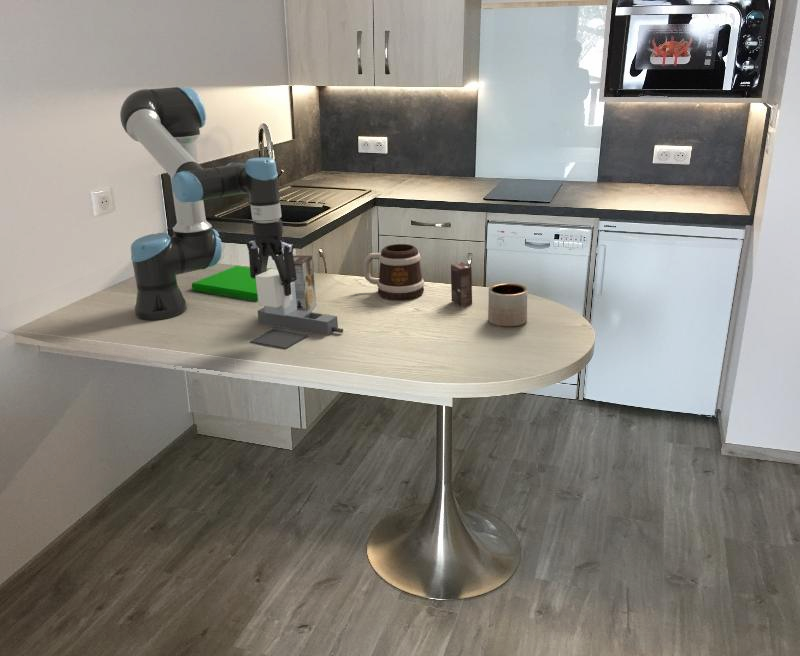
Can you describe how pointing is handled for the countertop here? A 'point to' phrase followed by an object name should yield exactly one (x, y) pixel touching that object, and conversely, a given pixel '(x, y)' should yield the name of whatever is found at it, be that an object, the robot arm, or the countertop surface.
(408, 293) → the mug
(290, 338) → the mat
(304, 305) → the coffee box
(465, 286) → the box
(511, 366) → the countertop surface
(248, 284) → the book
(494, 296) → the planter
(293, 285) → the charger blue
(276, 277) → the block
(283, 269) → the robot arm
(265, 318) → the power strip
